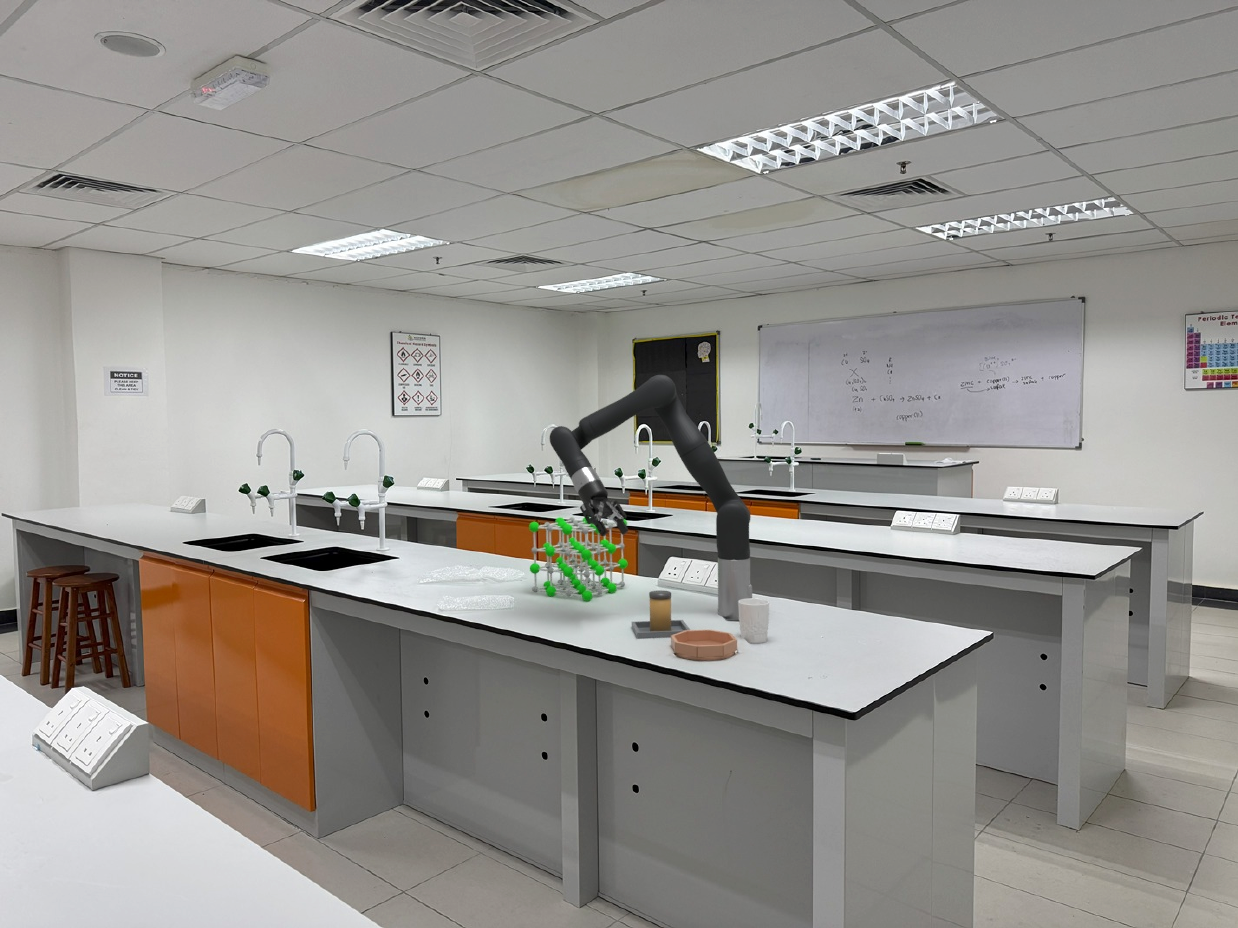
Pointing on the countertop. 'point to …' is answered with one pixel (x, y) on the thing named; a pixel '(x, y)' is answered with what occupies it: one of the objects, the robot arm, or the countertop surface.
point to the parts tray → (644, 632)
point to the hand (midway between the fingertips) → (615, 533)
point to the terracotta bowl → (703, 645)
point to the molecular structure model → (576, 550)
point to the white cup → (754, 619)
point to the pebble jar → (660, 610)
